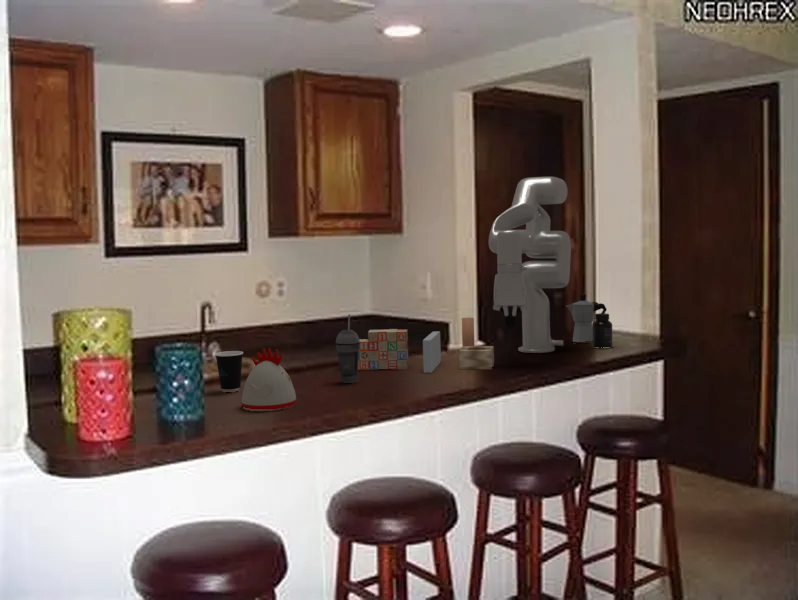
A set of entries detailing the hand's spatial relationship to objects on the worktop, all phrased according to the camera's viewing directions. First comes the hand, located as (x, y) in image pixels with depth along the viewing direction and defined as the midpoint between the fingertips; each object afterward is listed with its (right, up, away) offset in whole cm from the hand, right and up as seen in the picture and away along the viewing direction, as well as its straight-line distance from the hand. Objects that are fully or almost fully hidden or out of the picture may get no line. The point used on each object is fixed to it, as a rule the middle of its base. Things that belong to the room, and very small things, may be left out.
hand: (510, 328), depth 260 cm
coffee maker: (+35, -7, +50) cm, 61 cm away
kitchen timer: (-68, -19, -46) cm, 84 cm away
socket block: (-10, -12, +4) cm, 16 cm away
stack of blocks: (-43, -13, +8) cm, 45 cm away
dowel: (-12, -11, +18) cm, 24 cm away
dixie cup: (-82, -17, -24) cm, 88 cm away
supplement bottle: (+37, -8, +35) cm, 52 cm away
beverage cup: (-49, -15, -16) cm, 54 cm away
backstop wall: (-24, -12, +6) cm, 28 cm away
